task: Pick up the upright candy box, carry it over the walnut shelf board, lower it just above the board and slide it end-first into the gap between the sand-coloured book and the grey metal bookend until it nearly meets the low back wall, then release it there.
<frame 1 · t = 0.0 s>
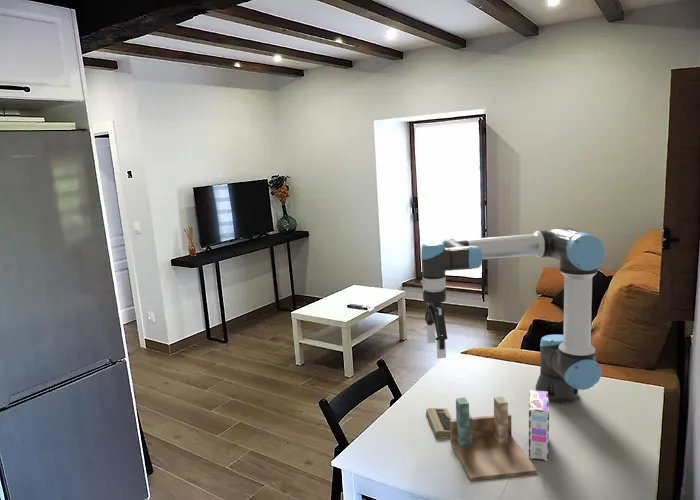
hand: (436, 349, 169), 28 cm above the table, fingers open, 13 cm apart
shelf: (491, 456, 155), on the table
computer: (441, 426, 175), on the table
candy box: (538, 448, 158), on the table
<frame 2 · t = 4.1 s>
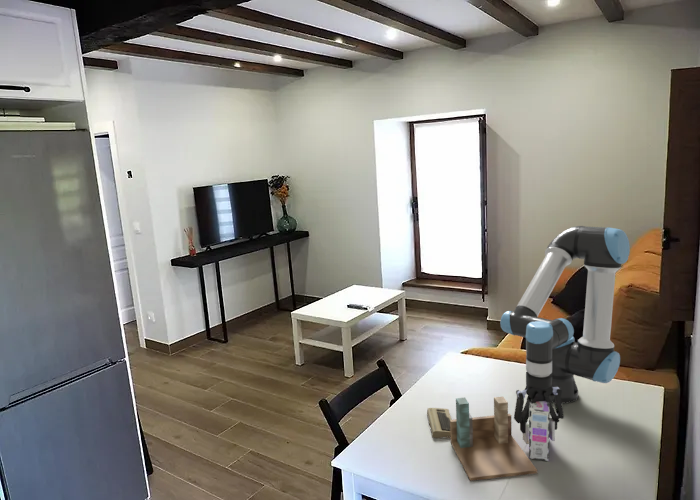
hand: (538, 440, 157), 3 cm above the table, fingers closed on candy box, 8 cm apart
candy box: (538, 448, 158), on the table, touching gripper
everything else where it was.
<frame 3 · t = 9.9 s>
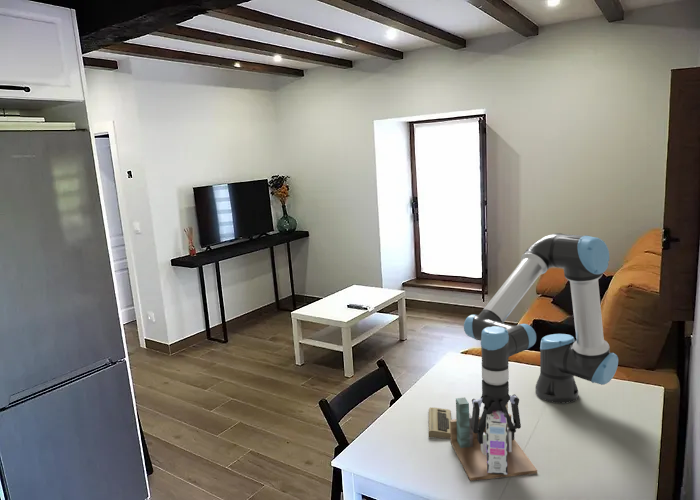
hand: (496, 450, 150), 4 cm above the table, fingers closed on candy box, 7 cm apart
candy box: (496, 461, 151), point 1 cm above the table, touching gripper
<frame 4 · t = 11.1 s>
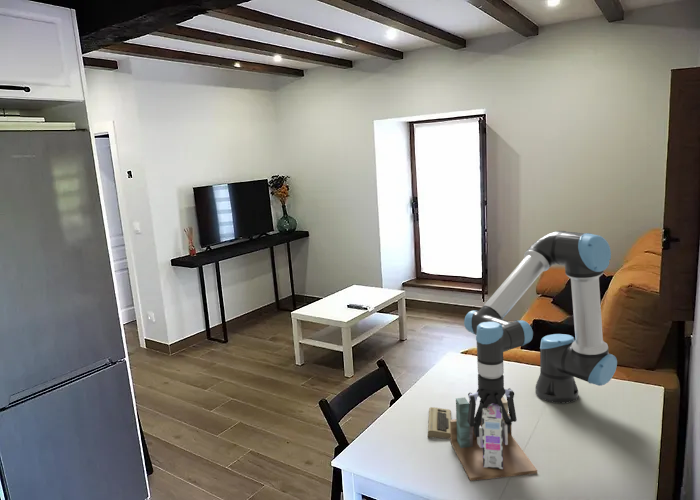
hand: (492, 443, 154), 4 cm above the table, fingers closed on candy box, 7 cm apart
candy box: (492, 456, 154), point 1 cm above the table, touching gripper, shelf
when the fingers open (4 cm above the table, at t = 11.2 s): candy box stays where it is, resting on shelf.
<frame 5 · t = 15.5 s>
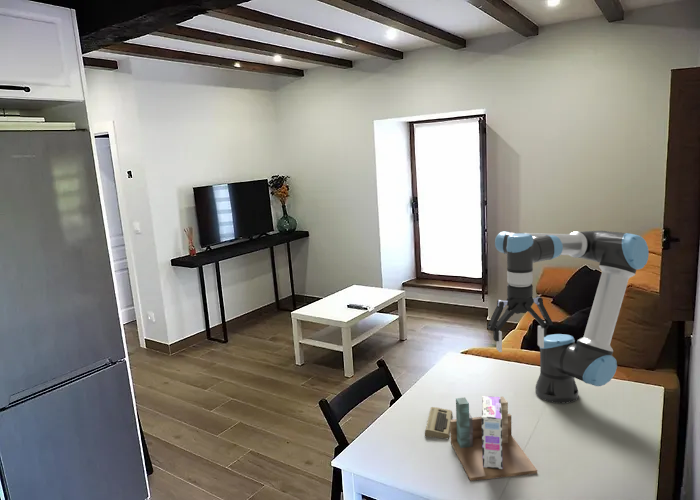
hand: (519, 348, 159), 31 cm above the table, fingers open, 13 cm apart
candy box: (492, 456, 154), point 1 cm above the table, touching shelf
at the end: candy box 1.9 cm from the target spot on the shelf, point 0.8 cm above the shelf's base; candy box tilted 1°; the gripper is holding nothing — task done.
